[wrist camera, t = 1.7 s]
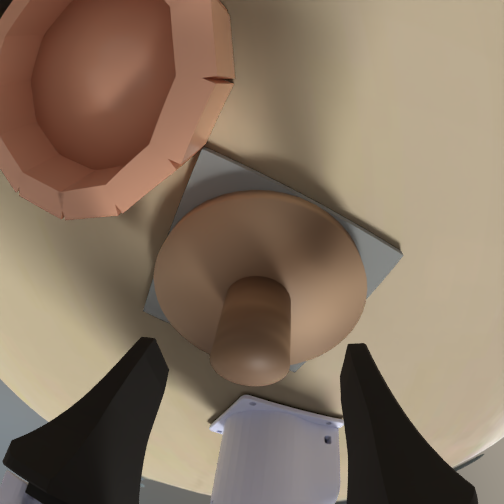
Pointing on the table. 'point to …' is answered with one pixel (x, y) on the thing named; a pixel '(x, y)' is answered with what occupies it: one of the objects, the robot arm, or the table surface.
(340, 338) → the lid
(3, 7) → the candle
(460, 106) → the table surface
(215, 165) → the mat
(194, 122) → the bowl
